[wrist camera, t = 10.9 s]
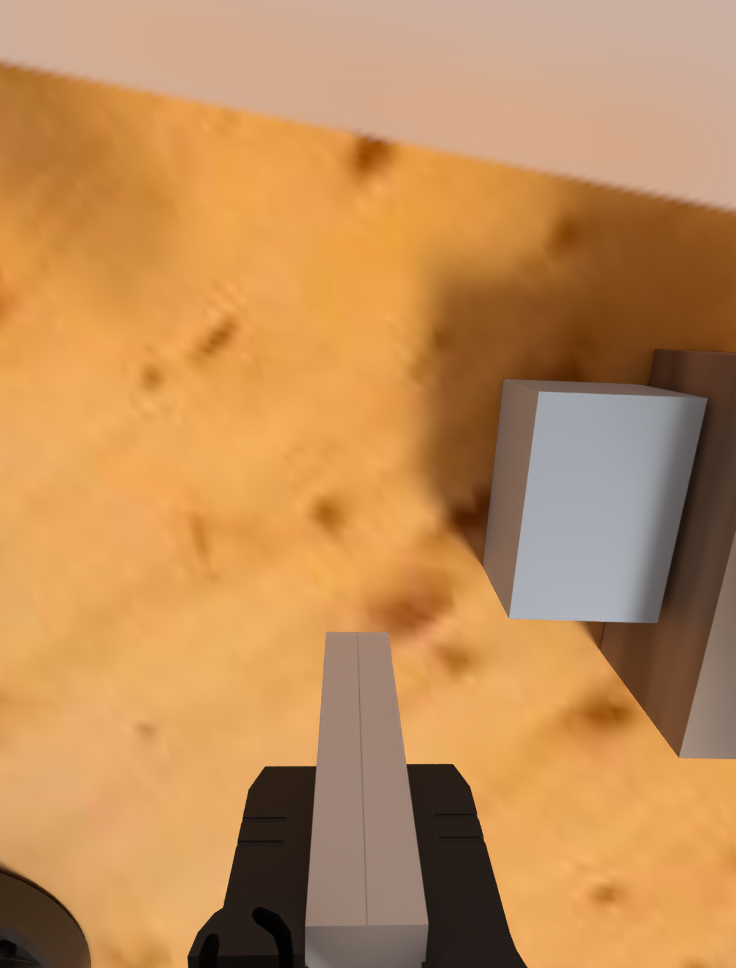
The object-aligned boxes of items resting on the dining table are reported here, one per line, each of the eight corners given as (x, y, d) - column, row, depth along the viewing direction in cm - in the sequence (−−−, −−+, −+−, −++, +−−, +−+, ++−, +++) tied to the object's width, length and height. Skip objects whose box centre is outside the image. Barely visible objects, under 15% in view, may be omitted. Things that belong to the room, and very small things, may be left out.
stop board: (600, 650, 27) (679, 757, 20) (655, 349, 23) (778, 358, 16) (658, 651, 27) (755, 759, 20) (723, 351, 23) (875, 361, 16)
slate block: (481, 564, 26) (509, 618, 21) (502, 378, 23) (539, 391, 18) (602, 568, 26) (657, 623, 21) (636, 383, 23) (707, 398, 19)
